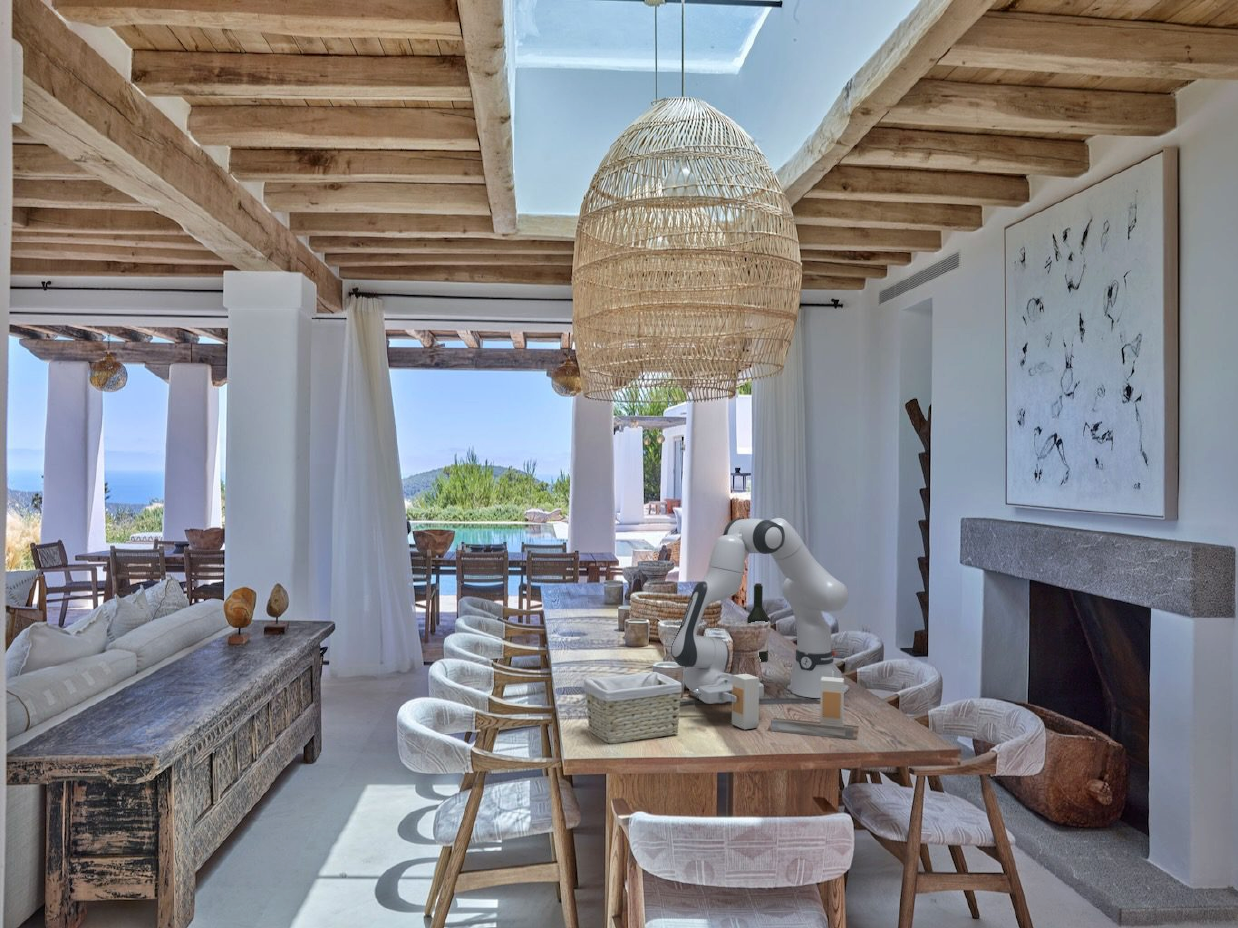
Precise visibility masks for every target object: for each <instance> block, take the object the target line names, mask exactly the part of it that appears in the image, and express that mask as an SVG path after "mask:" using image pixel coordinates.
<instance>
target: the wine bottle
mask: <svg viewBox="0 0 1238 928" xmlns="http://www.w3.org/2000/svg"><path fill="white" fill-rule="evenodd" d="M763 589H764V588H763V585H762V583H755V584H754V586H753V608H752V609H751V611H750V612H749V614H748V615H747V617H746V618H747V620H746V621H747V622H746V623H751V622H755V621H765V622H768V623H769V616H768V614H767V613H766V611H765V610H764V608H763ZM759 657H760V659H761V662H760V663H767V662H769V638H768V639H767V641H766V644H765V647H764V649H761V650H760V651H759Z"/></svg>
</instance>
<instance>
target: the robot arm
mask: <svg viewBox="0 0 1238 928" xmlns="http://www.w3.org/2000/svg"><path fill="white" fill-rule="evenodd" d="M749 554H763V555H767V554H768V555H769V554H770V555H771V557H772V559H773V560H774V561H775V563H776V565H777V566H778V567H779V570H780V571H781V573H782V574H783V576H785V580H784V582H783V584H782V596H783V598H784V599H785V600H786V602H787V604H789V606H790V609H791V610H792V614H793V617H794V621H795V626H796V638H797V639H796V641H797V642H796V649H795V655H794V656H795V663H794V664H793V665H792V666H791V675H790V679H791V680H790V684H789V685H787V687H786V689H787V690H789V691H790V692H791V693H792V694H794V695H797V696H800V697H805V698H812V699H813V698H814V699H821V678H822V677H835V678H843V675H842V673H843V672H842V671H841V670H840V669H839V667H837V665H836V664H835V663H834V662H835V661H834V657H836V655H837V652H836V650H832V629H831V626H830V625H829V623H828V622H827V621H826V619H825V618H824V616H823V613H822V612H827V613H828V612H837V611H838V612H839V611H841V610H843V609H844V608H845V607H846V605H847V604H848V601H849V592H848V591H849V590H848V589H847V586H846V584H844V583H843V582H841V581H840V580H838V579H837V578H835V577H834V576H833V575H831V574H830V573H829V572H828V570H826V569H825V568H824V567H823V566H822V565H821V564H820V563H819V562H818V561H817V560H816V559H815V557H813V555H812V554H811V552H810V550H809V549H808V547H807V545H805V543H804V542H803V539H802V538H801V537H800V535H799V534H798V532H797V531H796V530H795V528H794V527H793V526H792V525H791V524H790V523H789V521H787V520H786V519H784V518H782V517H776V518H772V519H769V520H768V519H762V518H753V517H752V518H742V517H741V518H735V519H732V520H731V521H729V522H728V523H727V525H726V526H725V528H724V531H723V534H722V535H721V536H719V537H718V538H717V539H716V541H715V543H714V546H713V548H712V552H711V554H710V559H709V561H708V567H707V571H706V574H705V575H704V578H703V579H702V580H701V581H700V582H697V584H696V585H695V586H694V588H693V591H692V593H691V594H690V598H689V600H688V603H687V606H686V608H685V611H684V615H683V617H682V621H681V622H682V623H681V626H680V628H679V631H678V633H677V635H676V637H675V639H674V641H673V643H672V646H671V654H672V658H673V660H674V662H675V663H676V664H677V665H678V666H679V667H684V668H685V669H684V670H683V672H682V679H683V680H682V681H683V683H684V685H685V686H686V688H687V689H689V690H690V691H691V692H692V693H693V695H695V696H698V699H699V700H700V701H702V703H703V702H704V703H705V704H711V705H712V704H726V703H727V702H731V703H732V702H734V703H735V702H739V696H737V695H732V682H733V675H739V674H740V673H728V672H726V671H727V669H728V665H729V662H730V655H731V654H730V651H729V646H728V645H727V643H726V641H725V640H723V638H722V639H721V638H717V637H711V636H704V635H698V629H699V627H700V624H701V621H702V618H703V617H704V612H705V610H706V608H707V607H708V606H710V604H714V603H715V602H718V601H722V600H727V599H729V598H731V597H733V596H734V595H736V594H737V593H738V592H739V591H740V588H741V586H742V582H743V576H744V571H745V566H746V565H745V564H746V559H747V557H748V556H749ZM671 654H670V655H671ZM849 689H850V687H849V685H847V684H844V695H845V693H846V692H848V690H849ZM764 694H765V686H764V684H763V683H762V682H760V681H759V698H762V697H764Z"/></svg>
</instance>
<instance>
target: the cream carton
mask: <svg viewBox="0 0 1238 928" xmlns="http://www.w3.org/2000/svg"><path fill="white" fill-rule="evenodd" d="M738 674H739V675H733V682H732V695H737V696H739V702H735V703H734V702H732V701H731V725H733V726H736V727H737V728H740V729H742V730H749V729H756V728H758V727H759V724H760V723H759V720H760V719H759V716H760V715H759V714H760V713H759V711H760V709H759V708H760V697H759V682H760V677H757V676H755V675H752V674H749V673H742V674H741V673H738Z"/></svg>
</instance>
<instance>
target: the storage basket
mask: <svg viewBox="0 0 1238 928" xmlns="http://www.w3.org/2000/svg"><path fill="white" fill-rule="evenodd" d="M583 683H584V684H583V686H584V687H583V691H584V693H585V696H586V698H585V700H586V709H587V710H586V712H587V720H588V730H589V732H590V733H591V734H593V735H595V736H596V737H597V738H599V739H600V740H602V741H604V743H606V744H620V743H624V742H634V741H638V740H644V739H646V740H647V739H655V738H658V737H660V738H661V737H663V736H664V737H665V736H671V735H677V734H678V732H679V723H680V721H679V720H680V706H681V699H682V691H683V689H682V688H683V687H682V682H680V681H678V680H676V679H673V678H672V677H670V676H667V675H665V674H662V673H659V672H657V671H652V672H644V673H643V672H640V673H633V674H624V675H623V674H622V675H614V676H612V675H611V676H602V677H588V678H586V679H584V681H583Z"/></svg>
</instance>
